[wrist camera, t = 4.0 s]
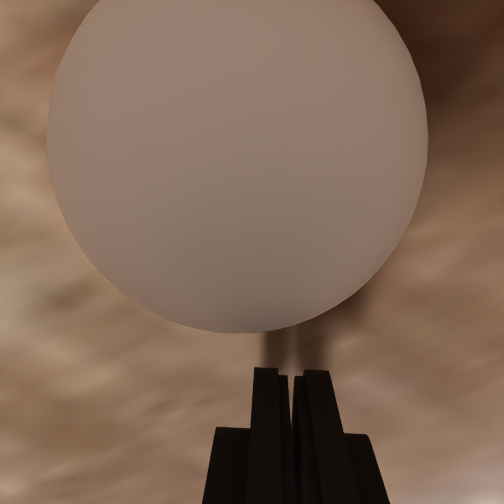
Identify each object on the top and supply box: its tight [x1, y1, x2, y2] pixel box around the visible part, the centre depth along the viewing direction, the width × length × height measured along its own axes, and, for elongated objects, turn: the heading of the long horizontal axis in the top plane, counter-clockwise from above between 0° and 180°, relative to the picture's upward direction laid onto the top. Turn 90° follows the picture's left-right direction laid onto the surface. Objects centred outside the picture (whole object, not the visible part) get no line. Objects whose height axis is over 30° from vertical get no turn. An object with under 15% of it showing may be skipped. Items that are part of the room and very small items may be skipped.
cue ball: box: [47, 0, 428, 333], centre depth 7 cm, size 6×6×6 cm
